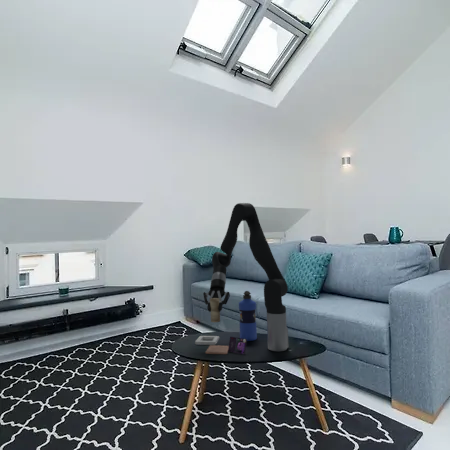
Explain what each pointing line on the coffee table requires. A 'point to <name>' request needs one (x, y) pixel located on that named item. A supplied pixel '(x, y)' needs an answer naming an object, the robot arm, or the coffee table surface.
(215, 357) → the coffee table surface
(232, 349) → the purple toy figure
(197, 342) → the pocket block
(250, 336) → the water bottle
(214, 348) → the terracotta tile
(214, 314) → the birch peg
